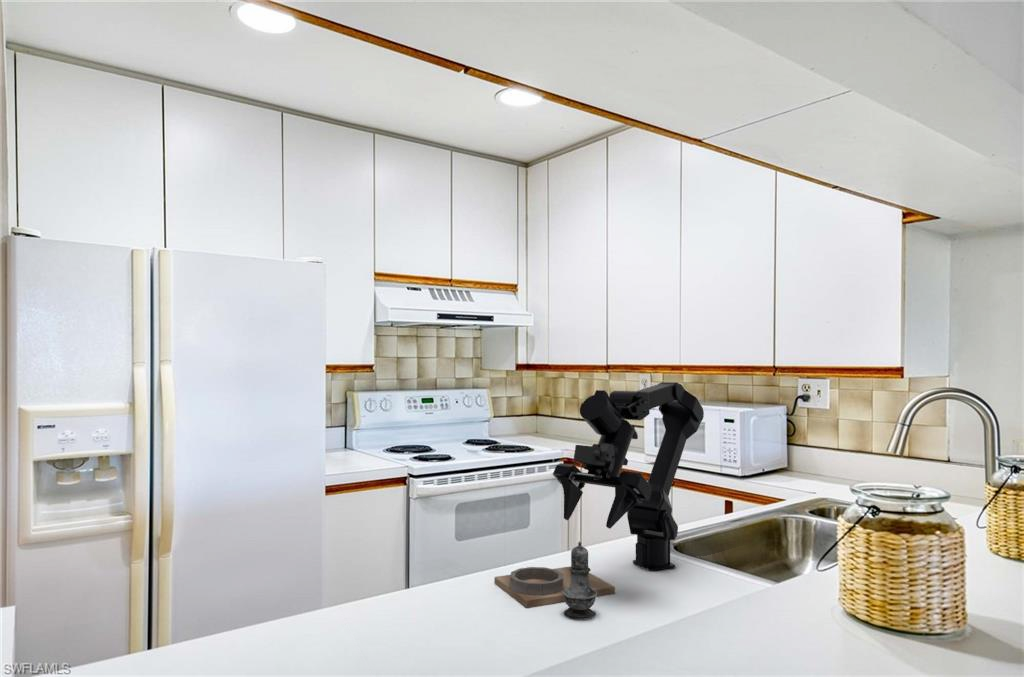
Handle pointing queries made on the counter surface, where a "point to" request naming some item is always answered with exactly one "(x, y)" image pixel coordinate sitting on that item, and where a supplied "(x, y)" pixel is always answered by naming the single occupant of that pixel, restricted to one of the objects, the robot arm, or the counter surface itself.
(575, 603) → the salt shaker
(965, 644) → the counter surface
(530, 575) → the board
